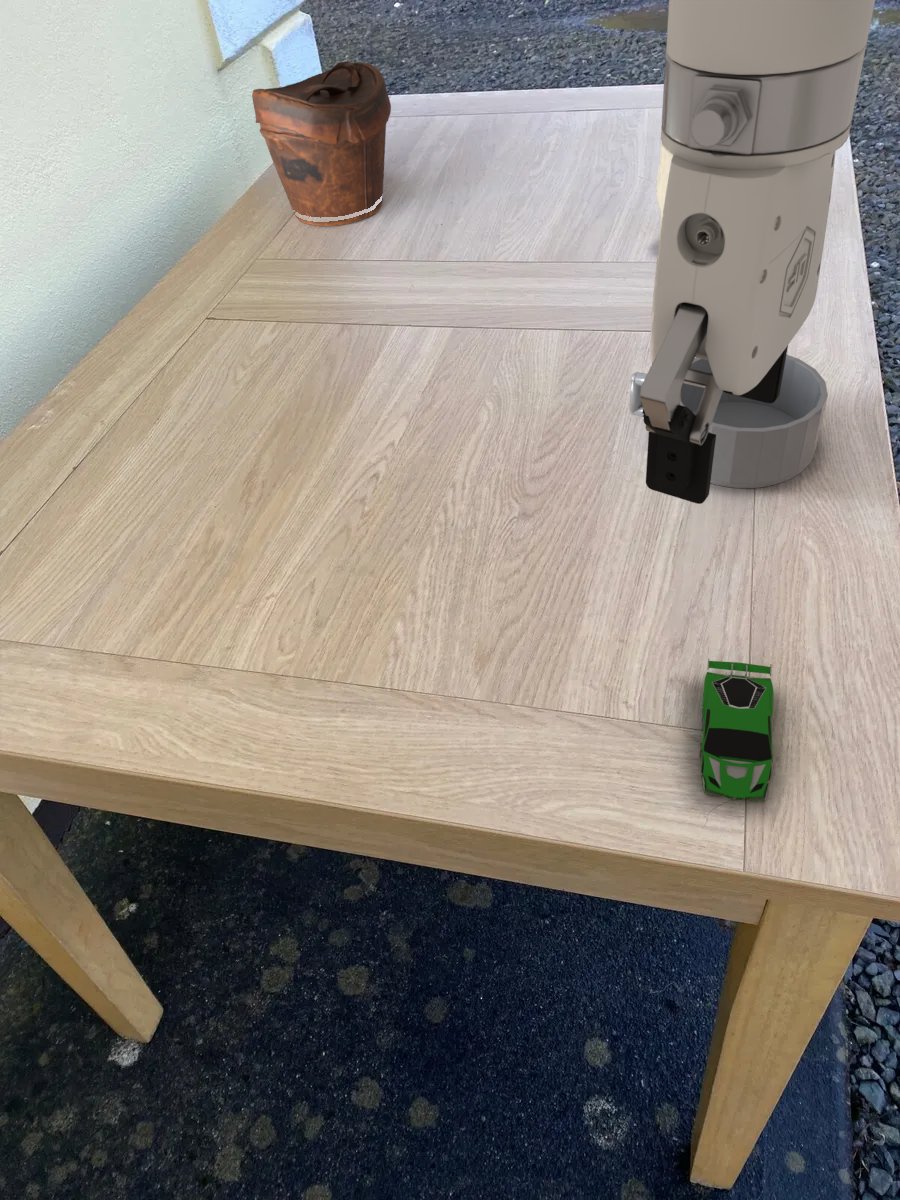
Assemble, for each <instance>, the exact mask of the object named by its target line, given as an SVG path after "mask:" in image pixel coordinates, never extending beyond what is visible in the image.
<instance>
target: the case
mask: <svg viewBox="0 0 900 1200" xmlns="http://www.w3.org/2000/svg"><path fill="white" fill-rule="evenodd" d="M251 99H252V105H253V109H254V110H253V111H254V115H255V123H256V124H259V126H260V129H259V133H260V134H261V136H262V137H263V138H264V140H265V143H266V147H267V149H268V152H269V155H270V157H271V160H272V163H273V165H274V167H275V169H276V173H277V175H278V178H279V180H280V182H281V185H282V187H283V190H284V191H285V195H286V197H287V200H288V202H289V205H290V207H291V209H292V208H293V209H292V211H293V210H295V211H296V212H298V213H299V214H301V215H306V216H309V217H310V216H311V217H320V218H321V217H338V216H345V215H349V214H353V213H355V212H359V211H362V210H364V209H368V208H370V207H371V206H373V205H374V204H375V202H376V201H377V200H378V199H380V197H381V196H382V194H383V195H384V180H385V179H384V178H385V157H386V156H385V154H386V136H387V135H386V134H387V123H388V121H389V119H390V116H391V113H392V104H391V100H390V97H389V93H388V90H387V85H386V82H385V78H384V76H383V74H382V72H381V71H380V70H379V69H378V68H377V67H376V66H374V65H373V64H371V63H368V62H367V63H366V62H360V61H355V62H350V61H341V62H338V63H337V64H335V65H334V66H333V67H332V68H331V69H329V70H327V71H324V72H321V73H318V74H315V75H312V76H310V77H308V78H305V79H303V80H301V81H297V82H295V83H291V84H287V85H285V86H281V87H271V88H255V89H253V91H252V93H251ZM383 202H384V197H383V198H382V201H381V202H380V203H379V204H378V205H377V206H376V208H375V209H374V210H372V211H370V212H368V213H364V214H362V215H359V216H356V217H353V218H349V219H344V220H338V221H329V222H313V221H307V220H303V219H301V218H299V217H297V216H296V215H295V214H294V216H295V217H296V219H298V221H299V222H301V223H304V224H307V225H310V226H316V227H336V226H343V225H348V224H352V223H355V222H359V221H363V220H365V219H368V218H370V217H373V216H374V215H375V214H376V213H377V212H378V211H379V210H380V209H381V207H382V206H383Z"/></svg>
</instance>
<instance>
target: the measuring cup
mask: <svg viewBox="0 0 900 1200" xmlns="http://www.w3.org/2000/svg"><path fill="white" fill-rule="evenodd" d="M690 369H694V370H699V371H703V372H707V373H711V374H713V373H712V370H711V367H710V364H709V361H708V360H706V359H701V358H697V357H695V358H694V360H693V362H692V365H691V367H690ZM646 376H647V373H645V372H639V371H636V372H633V373H632V374H631V376H630V387H629V388H630V391H629V413H630V415H632V416H635V417H640V418H644V417H643V415H644V414H643V413H642V412H643V409H644V408H643V405H642V402H641V399H640V391H641V387H642V384H643V382H644V380H645V378H646ZM704 389H705V388H702V387H698V386H694V385H689V384H685V383H683V384H682V387H681V401H680V405H681V406H685V407H688V408H689V409H690V410H691V411H692V412H693V413H694V414H695V415H696V413H697V410H698V407H699V404H700V401H701V398H702V395H703V392H704ZM827 400H828V389H827V383H826V381H825V379H824V378H823V376H821V374H820V372H819V371H818V370H817V369H816V368H814V367H813V366H811V365H810V364H808V363H806V362H805V361H803V359H799V358H798V357H795V356H792V355H789V354H788V353H787V354H786V360H785V366H784V371H783V377H782V383H781V388H780V394H779V396H778V398H777V399H776V401H775V402H773V403H765V402H761V401H757V400H752V399H748V398H744V397H740V396H736V395H732V394H728V393H725V392H722V395H721V398H720V401H719V404H718V407H717V410H716V413H715V415H714V418H713V421H712V424H711V427H710V430H709V432H710V433H712V434H716V441H715V449H714V457H713V465H712V473H711V481H710V484H712V485H715V486H721V487H727V488H735V489H758V488H759V489H760V488H764V487H765V488H766V487H771V486H775V485H778V484H782V483H785V482H787V481H789V480H792V479H793V478H795V477H796V476H798V475H800V474H801V473H802V472H803V471H805V470H806V468H808V466H809V465H810V464H811V462H812V460H813V458H814V455H815V452H816V449H817V446H818V442H819V437H820V432H821V428H822V423H823V419H824V415H825V409H826V405H827Z"/></svg>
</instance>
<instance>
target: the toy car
mask: <svg viewBox="0 0 900 1200" xmlns="http://www.w3.org/2000/svg"><path fill="white" fill-rule="evenodd" d="M772 666H773V664H772V663H771V664H769V666H767V665H759V664H752V663H745V662H738V661H719V660H710V658H707V668H706V669H707V670H708V671H706V674H705V677H704V681H703V690H702V691H703V692H702V705H700V708H699V709H700V720H701V723H702V728H703V729H702V735H701V734H700V735H699V749H698V757H701V761H700V773H702V774H700V776H701V777H700V778H701V783H702V789H703V794H707V795H711V796H715V797H719V796H722V797H723V796H724V797H725V798H728V799H730V800H731V801H732V800H733V799H735V800H736V801H738V800H743V799H748V800H750V801H751V802H765V801H766V797H767V794H768V790H769V786H770V785H769V784H770V783H769V781H770V780H771V776H772V767H773V766H772V764H773V760H774V755H773V753H774V752H773V722H772V721H773V720H772V719H773V713H774V686H773V685H774V684H773V681H772V679H771V677H772V668H773V667H772ZM709 669H716V670H724V671H730V674H722V673H715V672H710V671H709ZM734 671H735V672H744V675H737V674H733V673H734ZM748 673H756V674H765V675H769V677H752V676H748ZM701 738H702V739H701Z"/></svg>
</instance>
